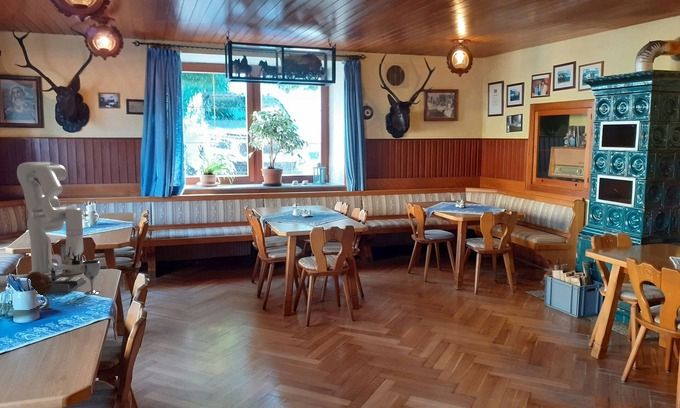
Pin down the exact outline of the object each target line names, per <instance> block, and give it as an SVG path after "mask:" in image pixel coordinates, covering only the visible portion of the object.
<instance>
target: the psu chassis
mask: <svg viewBox="0 0 680 408" xmlns="http://www.w3.org/2000/svg"><path fill="white" fill-rule="evenodd" d="M56 276H57V274H56V272H55V271H51V274H50V281H52V282H53V286H52V288H51V289H50V290H49V291H48V293H47V294H70V293H72V292H73V291H75V290H76V289H78V288H79V287H81V286H83V285H84V284H86V283H87V280H85V279H84V277H79V278H80V279H78V280H77V281H69V280H70V279H72V278H73V277H67V278H68V279H66V280H64V281H56V280H58V279H59V278H60V277H59V278H57V277H56Z"/></svg>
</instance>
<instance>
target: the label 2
mask: <svg viewBox="0 0 680 408" xmlns="http://www.w3.org/2000/svg"><path fill="white" fill-rule="evenodd" d="M71 278H72V279H70V280H69V281H77V280H78V279H80V278H81V277H71Z"/></svg>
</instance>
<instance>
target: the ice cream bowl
mask: <svg viewBox="0 0 680 408" xmlns="http://www.w3.org/2000/svg"><path fill="white" fill-rule="evenodd" d="M27 275H28V276H27V277H26V279H30V280H31V286H32V287H33V288H34V289H35V290H36V291H37V292H38V294H40V295H43V296H44V295H46V294H49V293H48V291H49V290H50V289H51V288H52V286H53V282H52V281H51V277H49V275H45V274H41V273H40V272H32V273H30V274H29V273H28V274H27Z"/></svg>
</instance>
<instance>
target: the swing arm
mask: <svg viewBox="0 0 680 408" xmlns="http://www.w3.org/2000/svg"><path fill="white" fill-rule="evenodd" d="M58 270H61V271H62V270H81V271H82V264H81V265H77V264H62V263H61V264H58V263H57V262H52V263H50V264H48V271H56V272H57V271H58Z"/></svg>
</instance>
